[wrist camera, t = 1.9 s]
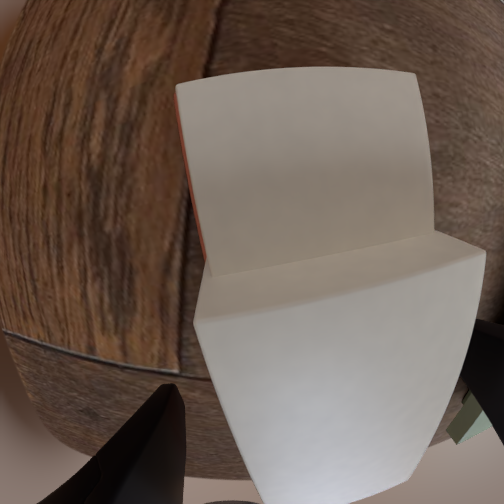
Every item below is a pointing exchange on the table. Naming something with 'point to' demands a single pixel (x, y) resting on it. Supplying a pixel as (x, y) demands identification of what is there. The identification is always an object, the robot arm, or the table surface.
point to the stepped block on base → (324, 275)
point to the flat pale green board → (468, 420)
